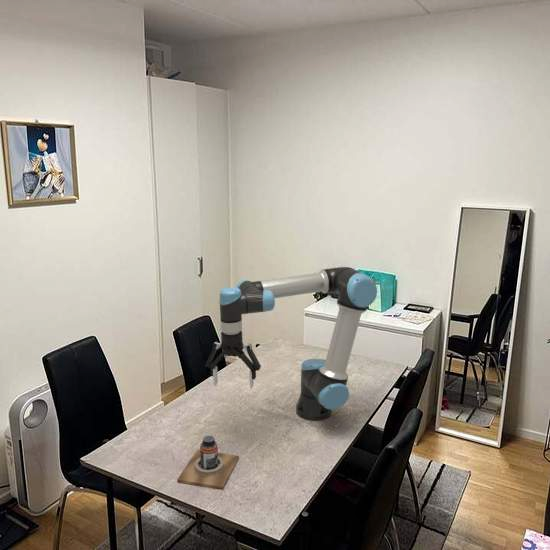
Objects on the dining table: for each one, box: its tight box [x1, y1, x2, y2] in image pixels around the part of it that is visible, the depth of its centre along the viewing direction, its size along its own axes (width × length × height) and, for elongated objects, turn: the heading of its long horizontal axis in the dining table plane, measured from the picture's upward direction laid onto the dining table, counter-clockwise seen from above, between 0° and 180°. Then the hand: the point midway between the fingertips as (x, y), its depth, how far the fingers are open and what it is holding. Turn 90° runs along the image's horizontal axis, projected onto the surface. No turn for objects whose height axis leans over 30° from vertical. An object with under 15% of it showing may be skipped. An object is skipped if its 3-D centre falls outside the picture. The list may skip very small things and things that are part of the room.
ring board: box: [176, 449, 240, 491], centre depth 178 cm, size 16×18×3 cm
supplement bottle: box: [199, 435, 219, 470], centre depth 177 cm, size 6×6×11 cm
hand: (233, 385), depth 188 cm, fingers open, 13 cm apart
